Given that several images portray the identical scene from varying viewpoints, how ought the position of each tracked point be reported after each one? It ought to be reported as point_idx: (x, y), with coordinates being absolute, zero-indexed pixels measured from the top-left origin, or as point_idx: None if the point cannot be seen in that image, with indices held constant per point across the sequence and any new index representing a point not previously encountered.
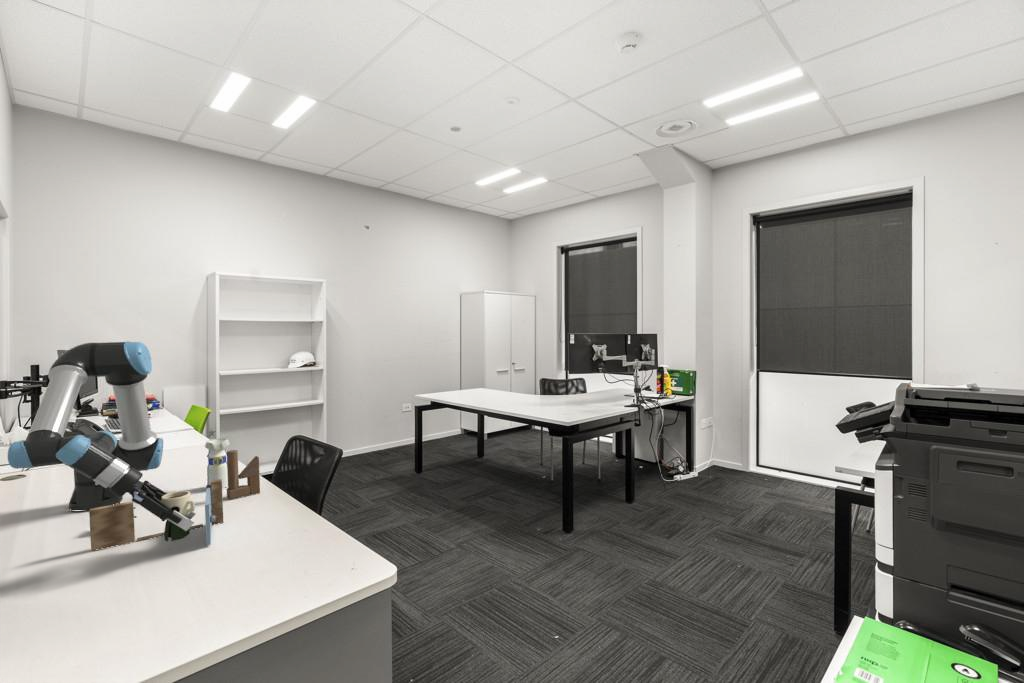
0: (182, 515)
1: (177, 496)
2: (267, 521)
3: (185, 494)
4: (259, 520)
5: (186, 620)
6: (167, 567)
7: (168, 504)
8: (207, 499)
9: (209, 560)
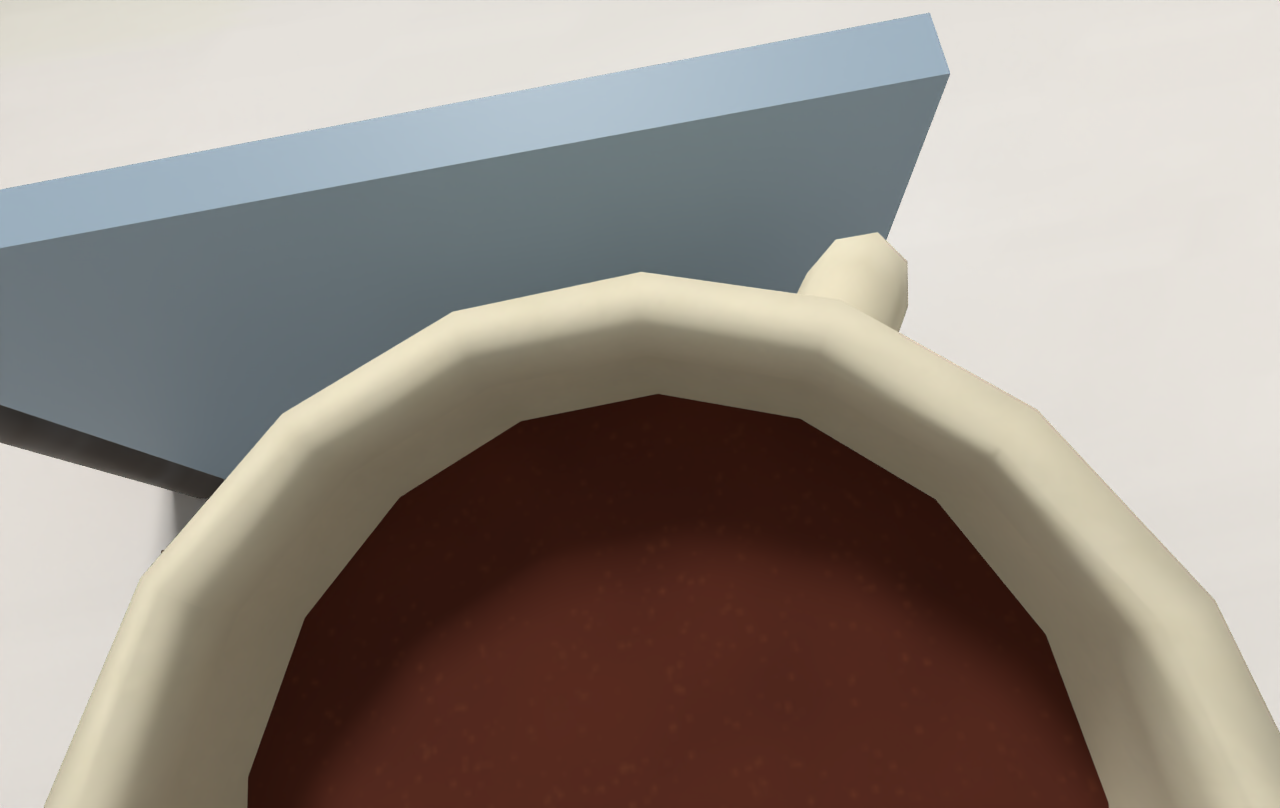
0: None
1: (301, 805)
2: (436, 30)
3: (358, 515)
4: (374, 88)
5: None
6: (1257, 684)
7: None
8: (540, 116)
9: (1179, 314)
